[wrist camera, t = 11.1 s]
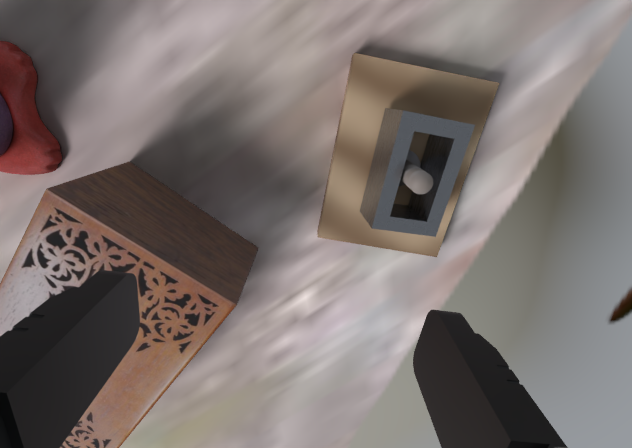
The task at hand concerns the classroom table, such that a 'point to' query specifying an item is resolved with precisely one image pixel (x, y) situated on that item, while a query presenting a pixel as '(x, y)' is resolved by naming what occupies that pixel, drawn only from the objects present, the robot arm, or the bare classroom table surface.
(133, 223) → the tissue box cover
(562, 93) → the classroom table surface
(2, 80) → the stacking bear
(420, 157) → the keeper board
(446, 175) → the grey storage bin
